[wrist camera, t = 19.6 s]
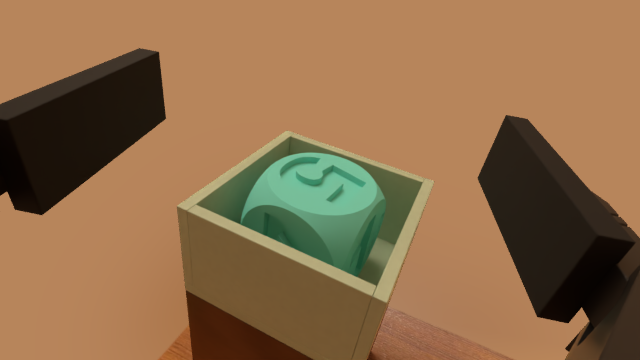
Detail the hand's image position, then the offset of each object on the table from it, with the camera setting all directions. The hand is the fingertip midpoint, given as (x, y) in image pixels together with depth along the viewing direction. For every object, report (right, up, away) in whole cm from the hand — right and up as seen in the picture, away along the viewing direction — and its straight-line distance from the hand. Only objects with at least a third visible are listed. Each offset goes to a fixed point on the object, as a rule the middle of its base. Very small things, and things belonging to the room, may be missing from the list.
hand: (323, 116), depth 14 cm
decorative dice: (-1, -9, +15) cm, 18 cm away
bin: (-1, -10, +16) cm, 19 cm away
